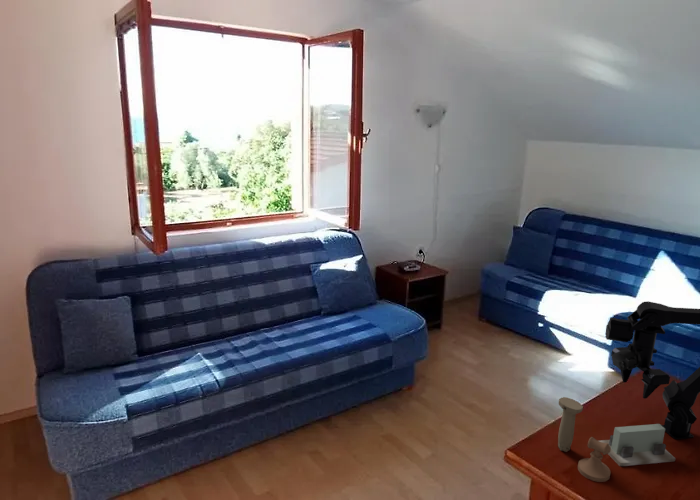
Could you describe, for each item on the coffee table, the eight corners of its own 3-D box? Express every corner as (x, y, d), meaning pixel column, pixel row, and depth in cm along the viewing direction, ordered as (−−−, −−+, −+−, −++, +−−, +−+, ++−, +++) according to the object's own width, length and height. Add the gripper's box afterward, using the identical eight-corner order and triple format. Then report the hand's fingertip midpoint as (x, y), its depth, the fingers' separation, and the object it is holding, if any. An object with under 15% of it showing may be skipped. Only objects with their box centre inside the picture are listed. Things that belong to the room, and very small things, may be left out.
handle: (568, 457, 146) (575, 411, 142) (548, 445, 152) (555, 400, 148) (578, 452, 149) (586, 406, 145) (559, 440, 154) (566, 395, 150)
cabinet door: (654, 444, 151) (659, 423, 149) (660, 450, 149) (665, 429, 147) (610, 448, 149) (614, 427, 147) (616, 454, 147) (620, 432, 145)
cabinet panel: (650, 439, 155) (652, 427, 154) (674, 461, 146) (677, 449, 145) (598, 443, 153) (600, 431, 152) (619, 466, 143) (622, 454, 142)
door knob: (589, 427, 144) (619, 440, 139) (583, 457, 147) (613, 471, 142) (578, 440, 138) (609, 454, 133) (573, 471, 141) (604, 486, 136)
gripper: (599, 331, 163) (592, 376, 167) (640, 360, 145) (631, 409, 149) (631, 330, 164) (623, 374, 169) (675, 358, 147) (665, 406, 151)
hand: (634, 390), depth 159 cm, fingers open, 9 cm apart
